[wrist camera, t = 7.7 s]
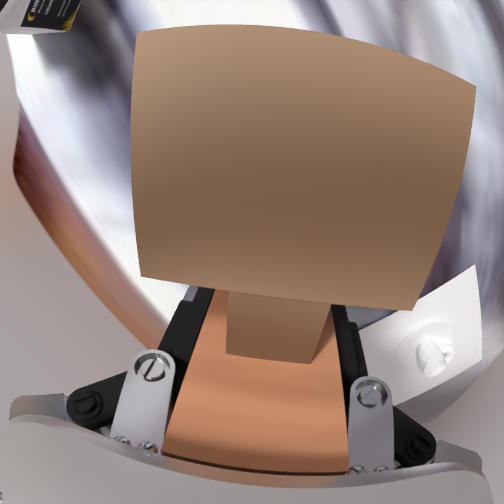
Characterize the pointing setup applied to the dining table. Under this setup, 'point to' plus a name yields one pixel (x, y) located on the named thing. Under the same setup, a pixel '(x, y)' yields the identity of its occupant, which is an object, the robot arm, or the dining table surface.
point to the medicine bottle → (37, 16)
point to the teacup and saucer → (427, 339)
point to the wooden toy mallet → (285, 219)
